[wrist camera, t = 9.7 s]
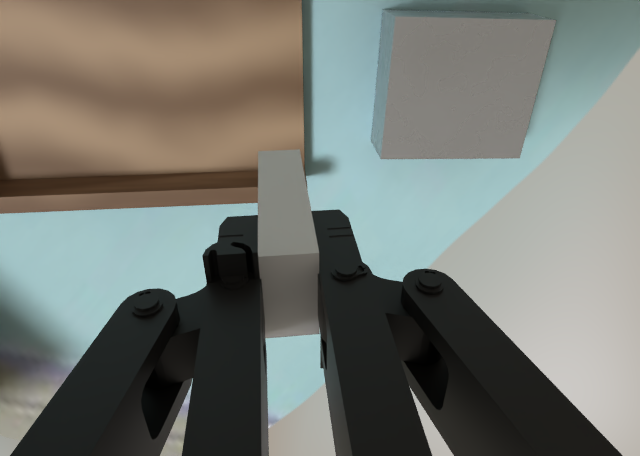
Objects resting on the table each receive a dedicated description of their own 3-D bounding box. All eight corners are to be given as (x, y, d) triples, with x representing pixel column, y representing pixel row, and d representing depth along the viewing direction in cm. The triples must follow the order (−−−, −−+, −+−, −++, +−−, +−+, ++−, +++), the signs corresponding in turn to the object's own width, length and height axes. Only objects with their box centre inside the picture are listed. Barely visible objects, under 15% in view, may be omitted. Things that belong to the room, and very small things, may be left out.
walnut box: (-102, -36, 27) (-155, -34, 24) (299, -37, 29) (304, -35, 26) (-12, 188, 34) (-42, 215, 31) (303, 176, 36) (307, 200, 33)
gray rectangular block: (381, 8, 31) (395, 16, 28) (525, 12, 32) (556, 20, 29) (370, 138, 36) (380, 159, 32) (496, 138, 37) (519, 158, 33)
